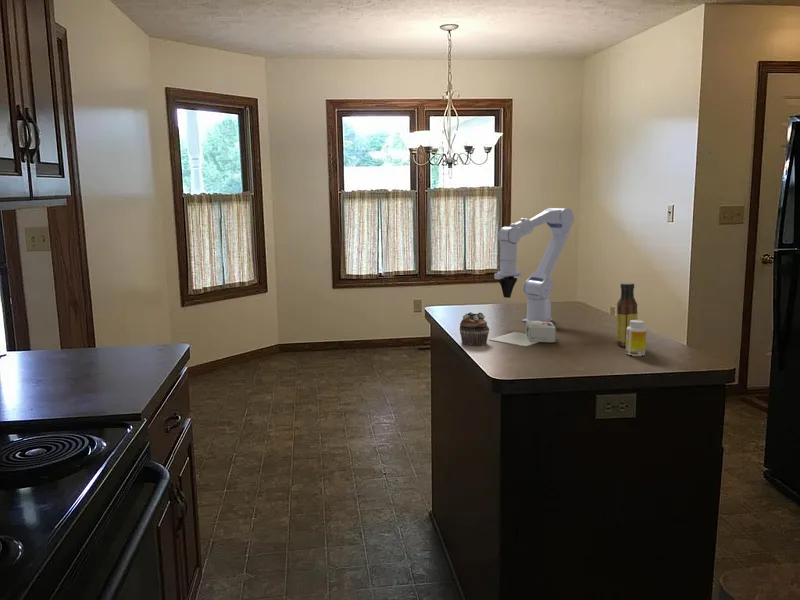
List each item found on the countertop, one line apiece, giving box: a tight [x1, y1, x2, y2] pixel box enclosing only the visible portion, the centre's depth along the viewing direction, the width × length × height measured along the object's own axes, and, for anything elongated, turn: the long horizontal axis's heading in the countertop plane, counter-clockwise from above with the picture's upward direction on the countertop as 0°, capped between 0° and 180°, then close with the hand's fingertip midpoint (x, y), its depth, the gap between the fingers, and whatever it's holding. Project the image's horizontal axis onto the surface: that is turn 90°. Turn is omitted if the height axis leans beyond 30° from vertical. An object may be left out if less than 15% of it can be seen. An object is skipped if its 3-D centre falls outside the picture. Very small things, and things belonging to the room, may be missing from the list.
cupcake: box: [459, 312, 490, 347], centre depth 208 cm, size 10×10×10 cm
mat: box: [488, 331, 539, 347], centre depth 214 cm, size 16×14×1 cm
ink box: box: [525, 320, 557, 343], centre depth 214 cm, size 9×5×12 cm
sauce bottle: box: [616, 282, 639, 348], centre depth 203 cm, size 7×6×20 cm
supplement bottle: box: [625, 319, 647, 357], centre depth 192 cm, size 6×6×10 cm
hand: (507, 297), depth 236 cm, fingers closed
